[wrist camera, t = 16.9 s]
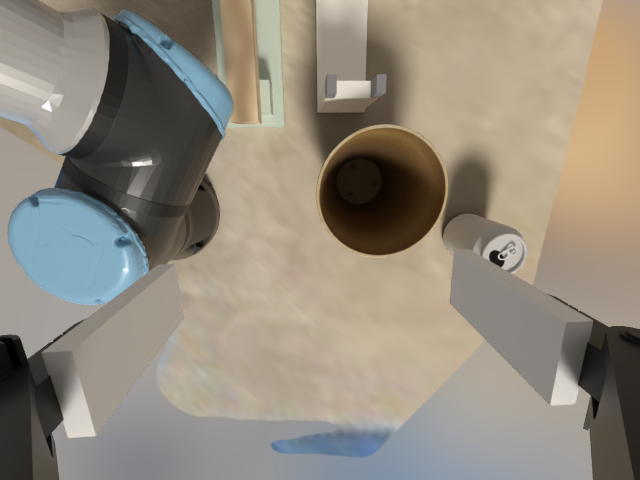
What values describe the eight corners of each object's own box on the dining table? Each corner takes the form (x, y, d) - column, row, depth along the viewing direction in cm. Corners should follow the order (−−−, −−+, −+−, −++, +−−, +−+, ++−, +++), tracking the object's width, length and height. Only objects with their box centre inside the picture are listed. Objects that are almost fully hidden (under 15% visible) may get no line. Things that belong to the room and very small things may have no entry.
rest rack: (224, 127, 47) (215, 124, 42) (204, -97, 40) (190, -132, 35) (284, 127, 47) (282, 124, 42) (275, -96, 40) (271, -130, 35)
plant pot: (293, 187, 50) (288, 202, 34) (356, 112, 47) (381, 92, 32) (360, 245, 53) (384, 282, 37) (423, 177, 50) (476, 188, 35)
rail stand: (317, 112, 47) (323, 94, 32) (314, -76, 41) (320, -202, 26) (363, 112, 47) (389, 94, 33) (367, -75, 41) (402, -199, 27)
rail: (235, 124, 42) (230, 121, 39) (215, -132, 35) (206, -162, 32) (261, 124, 42) (258, 121, 39) (246, -131, 35) (240, -161, 32)
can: (432, 230, 53) (468, 252, 41) (469, 203, 52) (517, 217, 40) (455, 263, 55) (495, 292, 43) (491, 237, 54) (543, 259, 42)
